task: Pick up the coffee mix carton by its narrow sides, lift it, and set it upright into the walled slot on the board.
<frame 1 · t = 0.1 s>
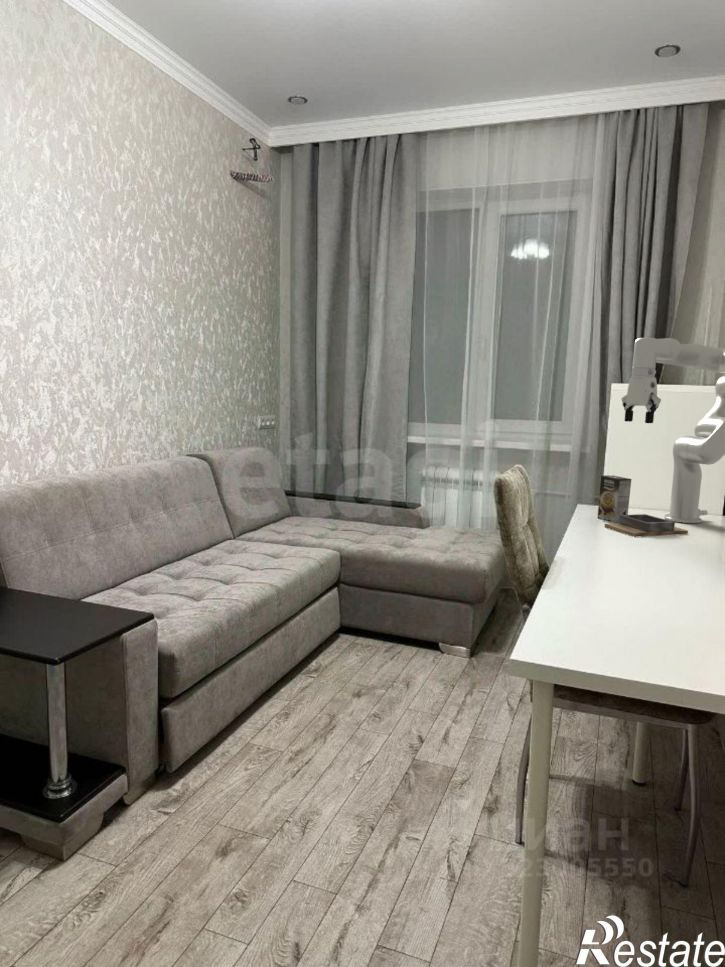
hand: (638, 422, 233), 37 cm above the table, tool pointing down, fingers open, 9 cm apart
slot board: (645, 530, 225), on the table
coffee box: (612, 520, 243), on the table
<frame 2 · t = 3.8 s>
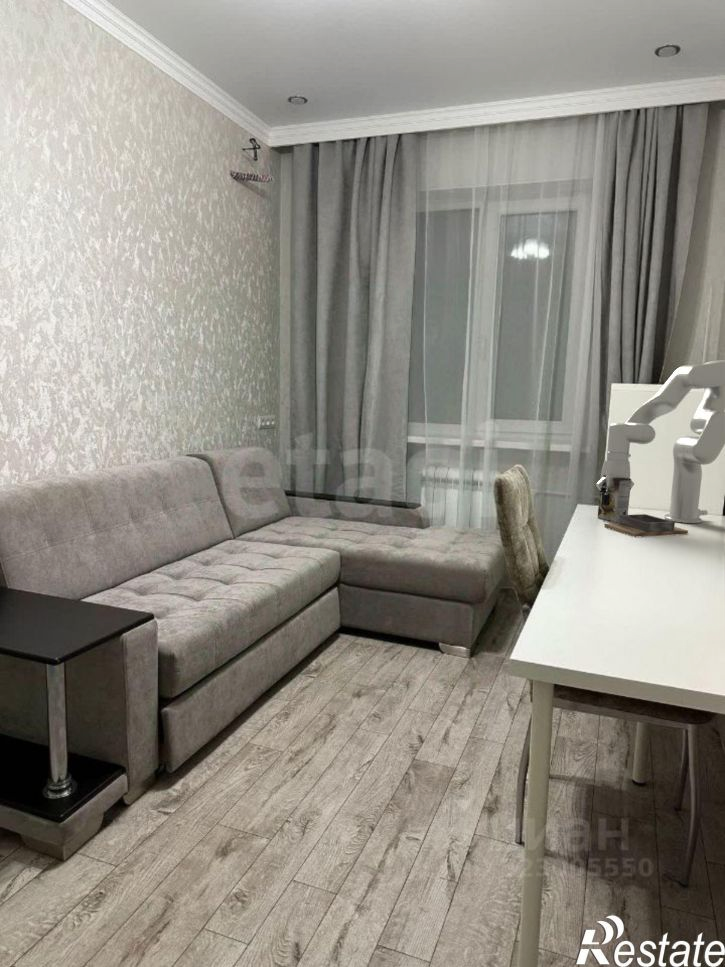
hand: (613, 504, 242), 6 cm above the table, tool pointing down, fingers closed on coffee box, 6 cm apart
coffee box: (612, 520, 243), on the table, touching gripper
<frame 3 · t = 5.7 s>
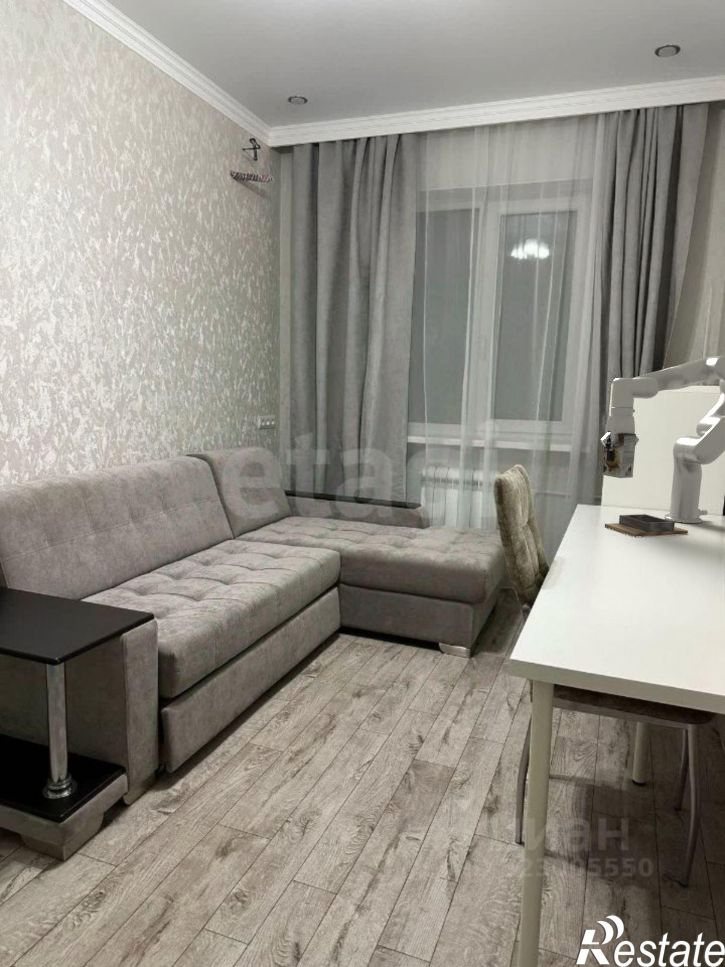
hand: (618, 460, 240), 22 cm above the table, tool pointing down, fingers closed on coffee box, 6 cm apart
coffee box: (617, 476, 241), point 16 cm above the table, touching gripper
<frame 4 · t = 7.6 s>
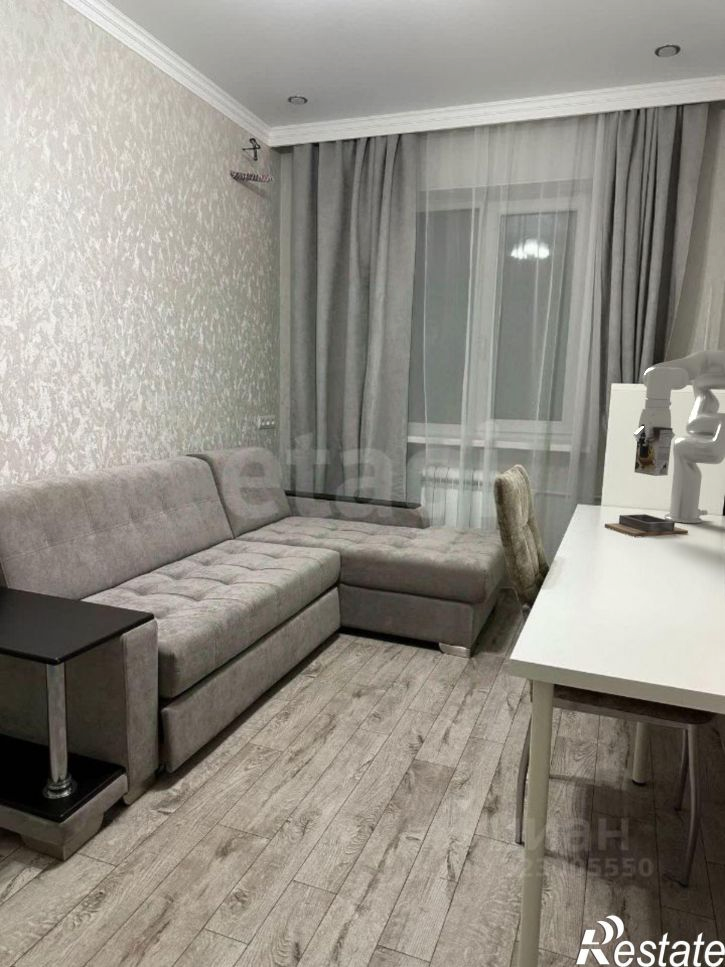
hand: (652, 457, 221), 25 cm above the table, tool pointing down, fingers closed on coffee box, 6 cm apart
coffee box: (650, 474, 222), point 19 cm above the table, touching gripper
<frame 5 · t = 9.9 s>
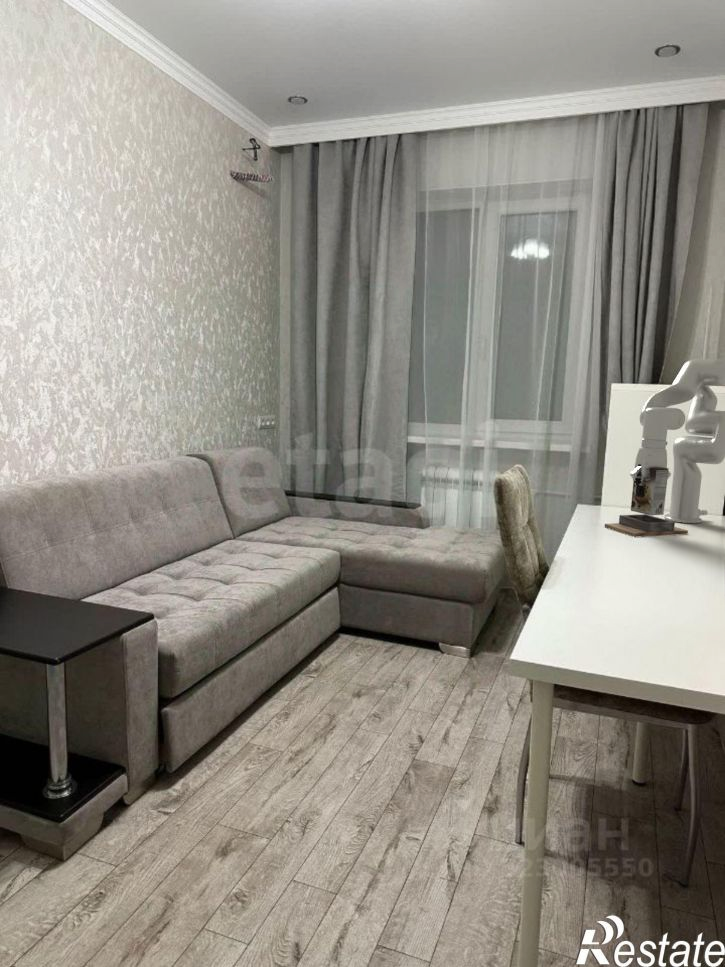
hand: (648, 496, 223), 12 cm above the table, tool pointing down, fingers closed on coffee box, 6 cm apart
coffee box: (646, 513, 224), point 6 cm above the table, touching gripper
when the fingers open (9 cm above the table, at t = 11.7 s): coffee box drops 2 cm, resting on slot board.
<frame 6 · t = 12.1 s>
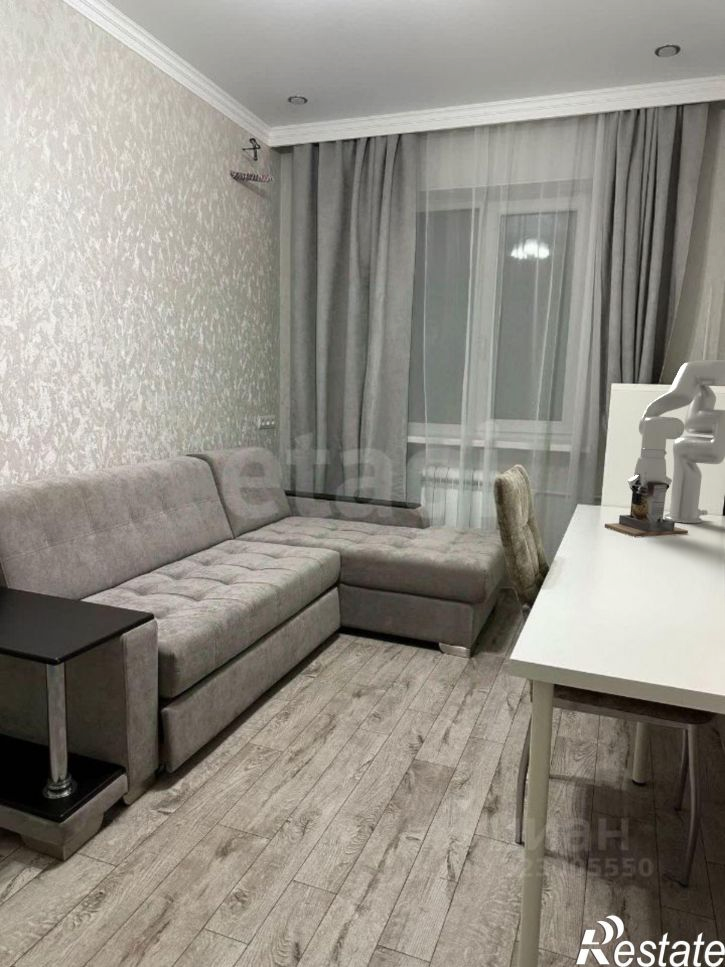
hand: (648, 504, 224), 9 cm above the table, tool pointing down, fingers open, 9 cm apart
coffee box: (645, 527, 225), point 1 cm above the table, touching slot board
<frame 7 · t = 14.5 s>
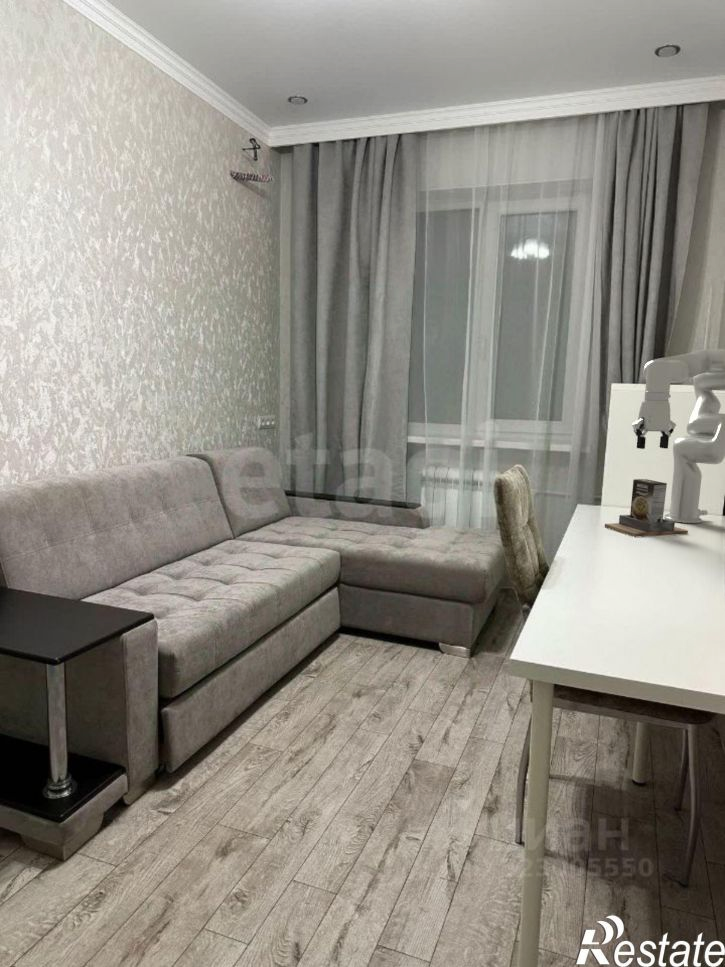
hand: (652, 448, 222), 28 cm above the table, tool pointing down, fingers open, 9 cm apart
nothing on the table moved.
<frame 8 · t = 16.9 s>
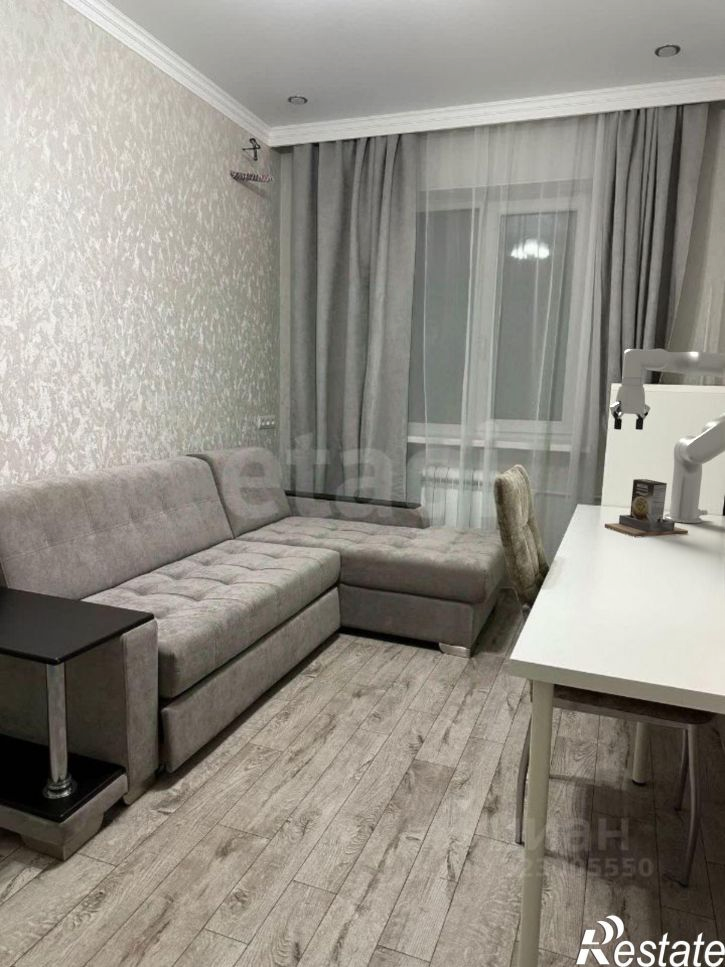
hand: (628, 429, 244), 33 cm above the table, tool pointing down, fingers open, 9 cm apart
nothing on the table moved.
at the end: coffee box 0.1 cm off-centre on the slot board, point 1.0 cm above the slot board's base; coffee box tilted 0°; the gripper is holding nothing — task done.
